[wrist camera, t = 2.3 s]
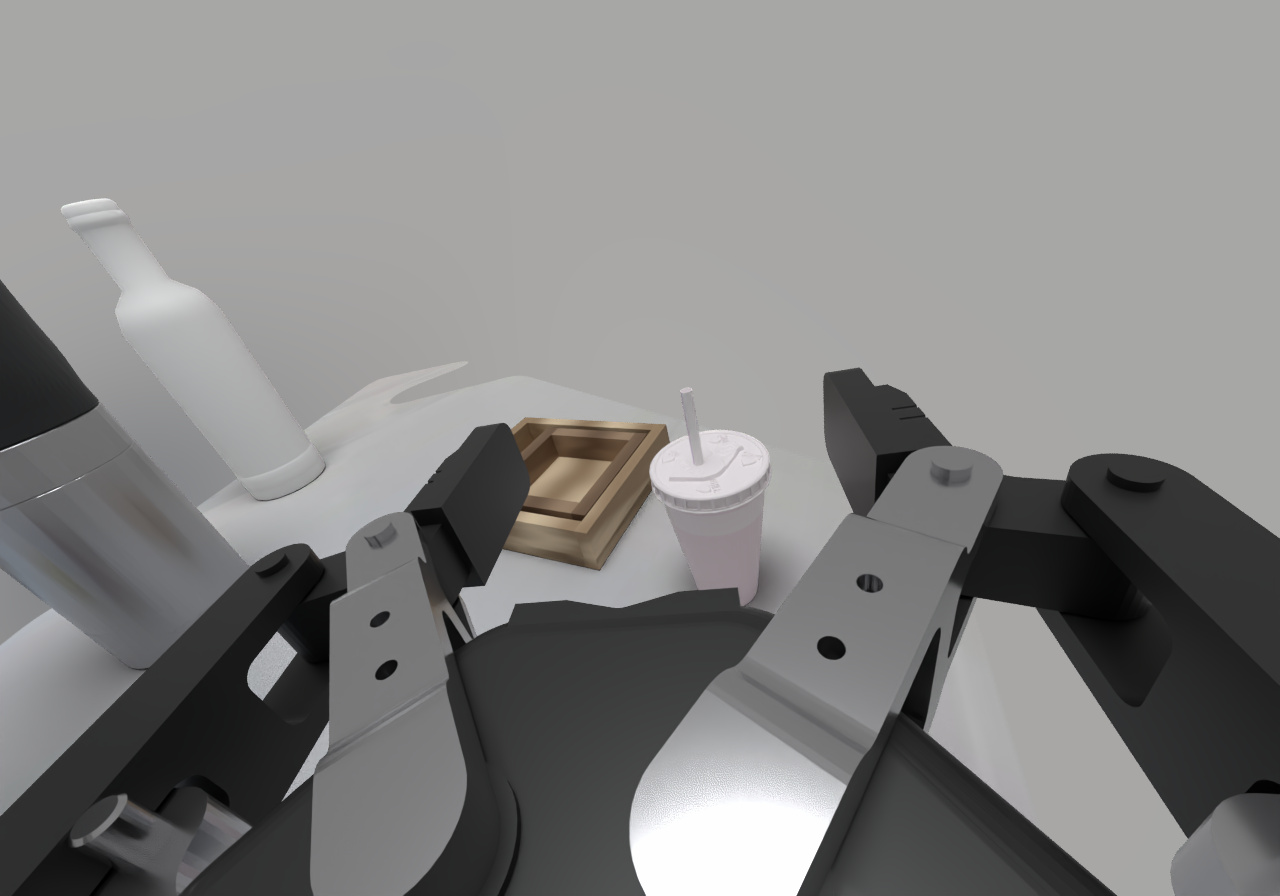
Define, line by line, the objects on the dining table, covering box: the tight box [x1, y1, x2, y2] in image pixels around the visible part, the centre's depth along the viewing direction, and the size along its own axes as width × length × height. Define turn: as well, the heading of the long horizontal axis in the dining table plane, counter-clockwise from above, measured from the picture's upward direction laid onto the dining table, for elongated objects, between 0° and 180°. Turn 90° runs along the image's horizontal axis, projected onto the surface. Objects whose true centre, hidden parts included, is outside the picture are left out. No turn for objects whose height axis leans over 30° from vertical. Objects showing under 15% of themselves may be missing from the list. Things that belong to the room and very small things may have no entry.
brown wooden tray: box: [502, 417, 670, 570], centre depth 41 cm, size 16×14×4 cm
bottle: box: [60, 198, 325, 500], centre depth 48 cm, size 8×8×30 cm
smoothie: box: [649, 388, 772, 606], centre depth 26 cm, size 6×6×14 cm
